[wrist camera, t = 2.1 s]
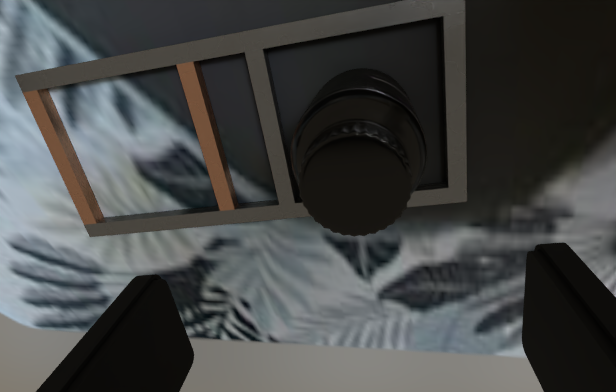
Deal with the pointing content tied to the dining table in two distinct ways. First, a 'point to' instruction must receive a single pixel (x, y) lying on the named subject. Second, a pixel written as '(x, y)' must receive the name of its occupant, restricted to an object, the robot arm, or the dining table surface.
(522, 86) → the dining table surface
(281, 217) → the rectangular frame
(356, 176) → the supplement bottle
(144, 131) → the dining table surface
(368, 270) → the dining table surface
